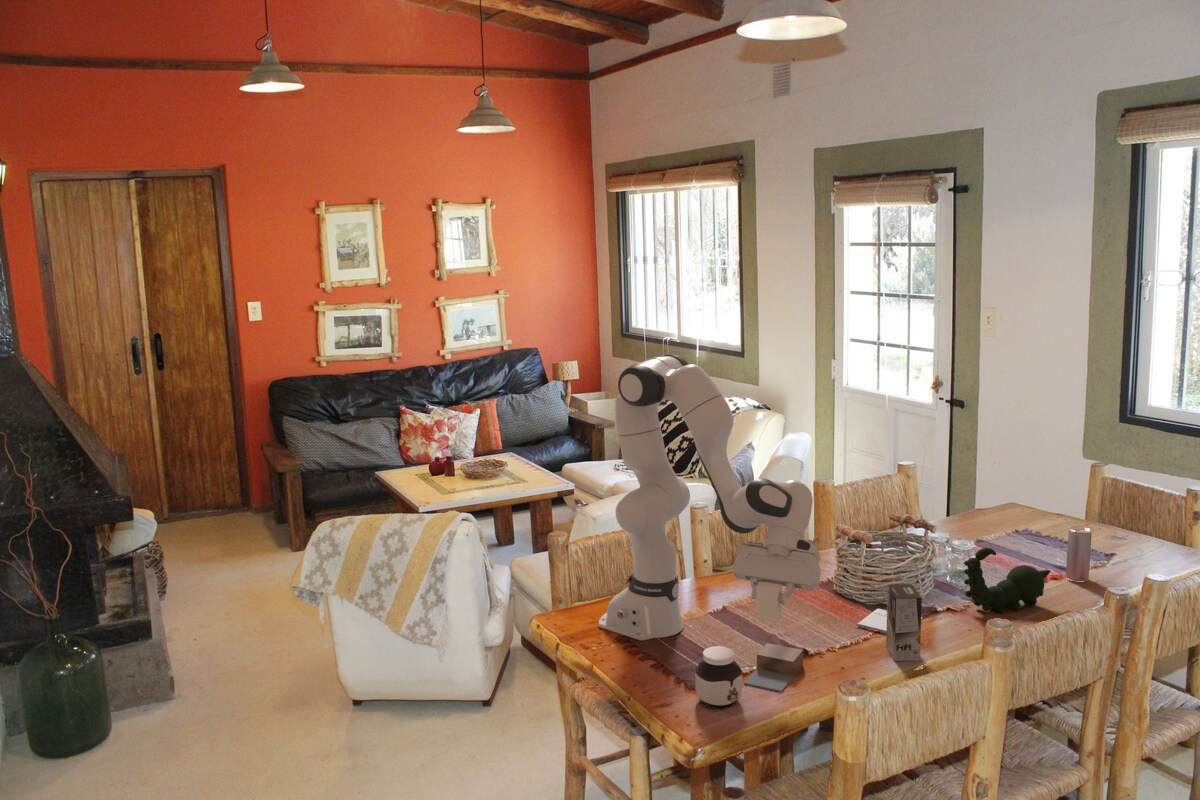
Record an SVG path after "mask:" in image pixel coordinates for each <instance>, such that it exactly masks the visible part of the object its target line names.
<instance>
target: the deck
mask: <svg viewBox="0 0 1200 800" xmlns="http://www.w3.org/2000/svg"><path fill="white" fill-rule="evenodd" d="M803 666H804V650H803V649H800V648H794V647H790V646H785V645H780V644H773V643H770V642H767V643H766V644H765V645H764V646H763V647H762V648H761V649H760V650H759V652H757V653H756V669H761V670H766V671H771V672H776V673H780V674H785V675H790V676H793V678H795V676H796V675H797V674H798V673H799V671H800V670H801V669H802V668H803Z"/></svg>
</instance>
